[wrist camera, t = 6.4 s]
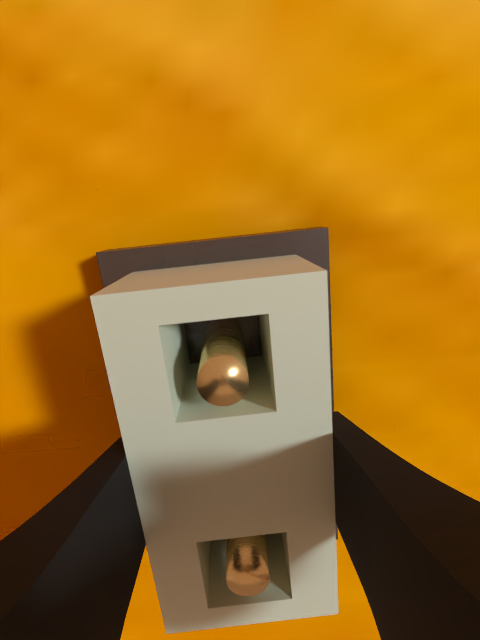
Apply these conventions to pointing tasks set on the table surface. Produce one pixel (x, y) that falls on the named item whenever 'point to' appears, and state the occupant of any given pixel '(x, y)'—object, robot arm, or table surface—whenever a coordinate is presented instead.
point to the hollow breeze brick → (228, 437)
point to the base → (226, 344)
